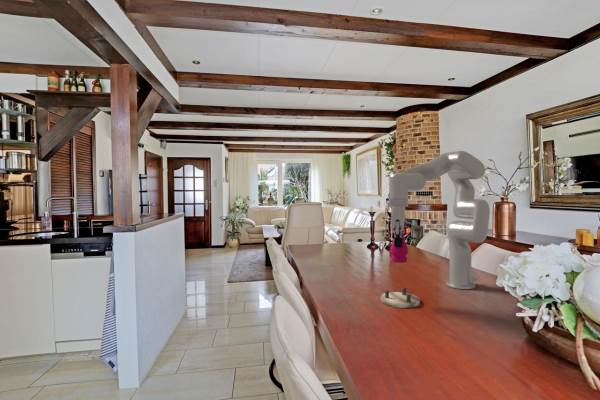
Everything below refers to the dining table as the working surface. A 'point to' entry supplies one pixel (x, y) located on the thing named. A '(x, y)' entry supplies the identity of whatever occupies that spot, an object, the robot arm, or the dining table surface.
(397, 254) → the pepper mill
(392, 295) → the dowel board
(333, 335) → the dining table surface
